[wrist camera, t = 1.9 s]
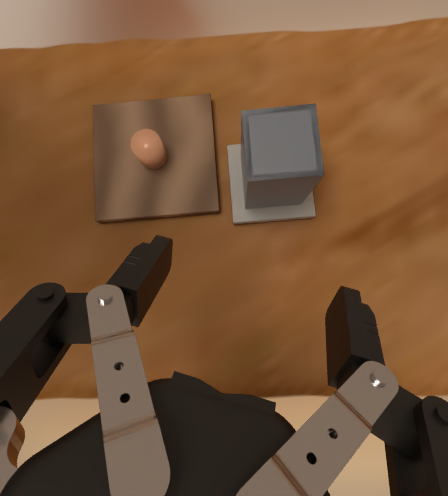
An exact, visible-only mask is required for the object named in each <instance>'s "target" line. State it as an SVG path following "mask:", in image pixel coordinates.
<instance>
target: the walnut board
mask: <svg viewBox="0 0 448 496" xmlns="http://www.w3.org/2000/svg"><path fill="white" fill-rule="evenodd" d="M142 129H151V130H153V131H155V132H156V133H157V134H158V135H159V137H160V139H161V141H162V143H163V145H164V147H165V148H166V150H167V154H168V158H167V161H166V163H165V164H164V165H163V166H162V167H161V168H159V169H155V170H152V169H148V168H146V167H145V166H143V164H142V163H141V162H140V160H139V159H138V158H137V157H136V155H135V154H134V153H133V151H132V150H131V146H130V143H131V139H132V137H133V135H134V134H135V133H136V132H138V131H139V130H142ZM93 134H94V179H95V221H97V222H99V223H102V222H113V221H125V220H137V219H149V218H161V217H173V216H185V215H197V214H208V213H219V200H218V186H217V173H216V159H215V146H214V133H213V119H212V106H211V96H210V94H204V95H194V96H184V97H174V98H164V99H153V100H143V101H133V102H123V103H113V104H102V105H93Z"/></svg>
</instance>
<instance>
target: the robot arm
mask: <svg viewBox="0 0 448 496" xmlns="http://www.w3.org/2000/svg"><path fill="white" fill-rule="evenodd" d="M172 245H173V240H172V239H170V238H166V237H163V236H159V235H156V236H155V237H154V239H153V240H152V242H151V243H150V244H148V243H144V242H143V243H141V244H140V245H138V246H136V247H135V248H134V249H133V250H132V251H131V253H130V254H129V256H127V258H126V259H125V260H124V262H123V263H122V264H121V265H120V267H119V268H118V269H117V271H116V272H115V273H114V274H113V276H112V277H111V278H110V280H109V281H108V282H107V283H106V284H105V285H100V286H97V287H95V288H93V289H92V290H91V291H90V292H89V293H66V292H65V289H64V287H63V286H62V285H60V284H57V283H43V284H40V285H37V286H35V287H33V288H32V289H31V290H30V291H28V293H27V294H26V295H25V296H24V297H23V298H22V299H21V300H20V301H19V302H18V303H17V304H16V305H15V306H14V307H13V309H12V310H11V311H10V312H9V313H8V314H7V315H6V316H5V317H4V318H3V319H2V320H1V321H0V496H330V494H329V492H328V490H327V489H328V488H329V487H330V485H331V484H332V483H333V481H334V480H335V479H336V477H337V476H338V475H339V473H340V472H341V471H342V469H343V468H344V467H345V465H346V464H347V463H348V461H349V460H350V459H351V457H352V456H353V455H354V453H355V452H356V450H357V449H358V448H359V447H360V445H361V444H362V443H363V441H364V440H365V439H366V437H367V436H368V435H369V433H370V432H371V433H372V434H374V435H375V436H377V437H378V438H380V439H381V440H383V441H384V442H385V451H386V459H387V468H388V477H389V486H390V495H391V496H448V402H447V401H445V400H443V399H442V398H439V397H436V396H427V397H425V398H424V399H423V400H422V399H420V398H419V397H417V396H415V395H414V394H412V393H410V392H408V391H407V390H405V389H404V388H402V387H401V386H399V385H398V382H397V379H396V377H395V376H394V374H393V373H392V372H391V371H390V370H389V369H388V368H387V367H386V366H385V363H384V358H383V353H382V348H381V344H380V339H379V335H378V329H377V327H376V326H377V324H376V320H375V315H374V313H373V312H372V310H371V309H370V307H369V306H368V305H366V304H363V303H362V302H361V296H360V292H359V291H358V290H355V289H351V288H347V287H344V286H341V287H340V288H339V290H338V291H337V293H336V295H335V297H334V298H333V300H332V302H331V304H330V305H329V307H328V310H327V313H326V318H325V326H326V350H327V374H328V385H329V386H332V387H335V388H337V391H336V392H334V393H333V394H332V395H331V396H330V397H329V398H328V400H327V401H326V402H325V403H324V404H323V405H322V406H321V407H320V408H319V409H318V410H317V411H316V412H315V413H314V414H313V415H312V416H311V417H310V418H309V419H308V420H307V421H306V422H305V423H304V424H303V425H302V426H301V428H300V429H299V430H298V431H297V432H296V431H295V429H294V428H293V427H292V425H291V424H290V423H289V422H288V421H287V420H286V419H285V418H284V417H283V416H281V415H280V414H279V413H277V412H275V406H276V403H275V402H272V401H269V400H266V399H262V398H259V397H256V396H253V395H244V394H224V393H221V392H219V391H218V390H216V389H215V388H213V387H211V386H210V385H208V384H206V383H205V382H203V381H202V380H200V379H198V378H195V377H192V376H188V375H185V374H182V373H179V372H175V371H174V374H173V376H172V379H171V378H166V379H158V380H154V381H151V382H148V383H147V380H146V376H145V372H144V368H143V364H142V360H141V356H140V352H139V348H138V344H137V340H136V336H135V333H134V331H133V330H132V328H131V325H132V326H136V327H139V325H140V323H141V322H142V320H143V318H144V316H145V315H146V313H147V311H148V309H149V307H150V306H151V304H152V302H153V300H154V299H155V297H156V295H157V293H158V291H159V290H160V288H161V286H162V284H163V283H164V281H165V279H166V277H167V276H168V273H169V271H170V268H171V261H172ZM89 343H91V346H92V354H93V362H94V369H95V377H96V385H97V392H98V400H99V408H100V413H98V414H97V415H95V416H93V417H92V418H90V419H89V420H87V421H86V422H84V423H83V424H81V425H80V426H78V427H76V428H75V429H74V430H72V431H70V432H69V433H67V434H66V435H64V436H62V437H61V438H59V439H58V440H57V441H55V442H53V443H52V444H50V445H49V446H47V447H46V448H44V449H42V450H41V451H39V452H38V453H36V454H35V455H33V456H32V457H30V458H29V459H28V460H27V461H25V462H24V463H23V464H22V465H21V466H20V467H19V468H17V458H18V454H19V451H20V449H21V447H22V445H23V443H24V439H25V431H24V428H23V426H22V425H21V423H20V422H21V420H22V419H23V417H24V416H25V414H26V412H27V411H28V409H29V408H30V406H31V405H32V403H33V402H34V400H35V399H36V397H37V396H38V394H39V393H40V391H41V390H42V388H43V387H44V385H45V384H46V382H47V381H48V379H49V378H50V376H51V375H52V373H53V372H54V370H55V369H56V367H57V366H58V364H59V362H60V361H61V359H62V358H63V356H64V355H65V353H66V352H67V350H68V349H69V347H70V346H71V344H89Z"/></svg>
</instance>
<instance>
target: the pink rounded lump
mask: <svg viewBox="0 0 448 496" xmlns="http://www.w3.org/2000/svg"><path fill="white" fill-rule="evenodd" d="M130 146H131V150H132V151H133V153H134V154H135V155H136V157H137V158H138V159H139V160H140V162H141V163H142V164H143V166H145V167H146V168H148V169H152V170H155V169H159V168H161V167H162V166H163V165H164V164H165V163H166V161H167V158H168V154H167V150H166V148H165V147H164V145H163V143H162V141H161V139H160V137H159V135H158V134H157V133H156V132H155V131H153V130H151V129H142V130H139V131H138V132H136V133H135V134H134V135H133V137H132V139H131V143H130Z"/></svg>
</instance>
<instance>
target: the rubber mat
mask: <svg viewBox="0 0 448 496" xmlns="http://www.w3.org/2000/svg"><path fill="white" fill-rule="evenodd" d="M227 149H228V161H229V174H230V186H231V199H232V211H233V223H234V224H244V223H256V222H268V221H280V220H292V219H304V218H314V217H315V207H314V198H313V190H312V191H311V193H310V194H309V195H308V196H307V198H306V199H305V200H304V201H303V203H302V204H300V205H288V206H276V207H264V208H252V209H245V203H244V191H243V179H242V168H241V156H240V155H241V144H236V145H227Z"/></svg>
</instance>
